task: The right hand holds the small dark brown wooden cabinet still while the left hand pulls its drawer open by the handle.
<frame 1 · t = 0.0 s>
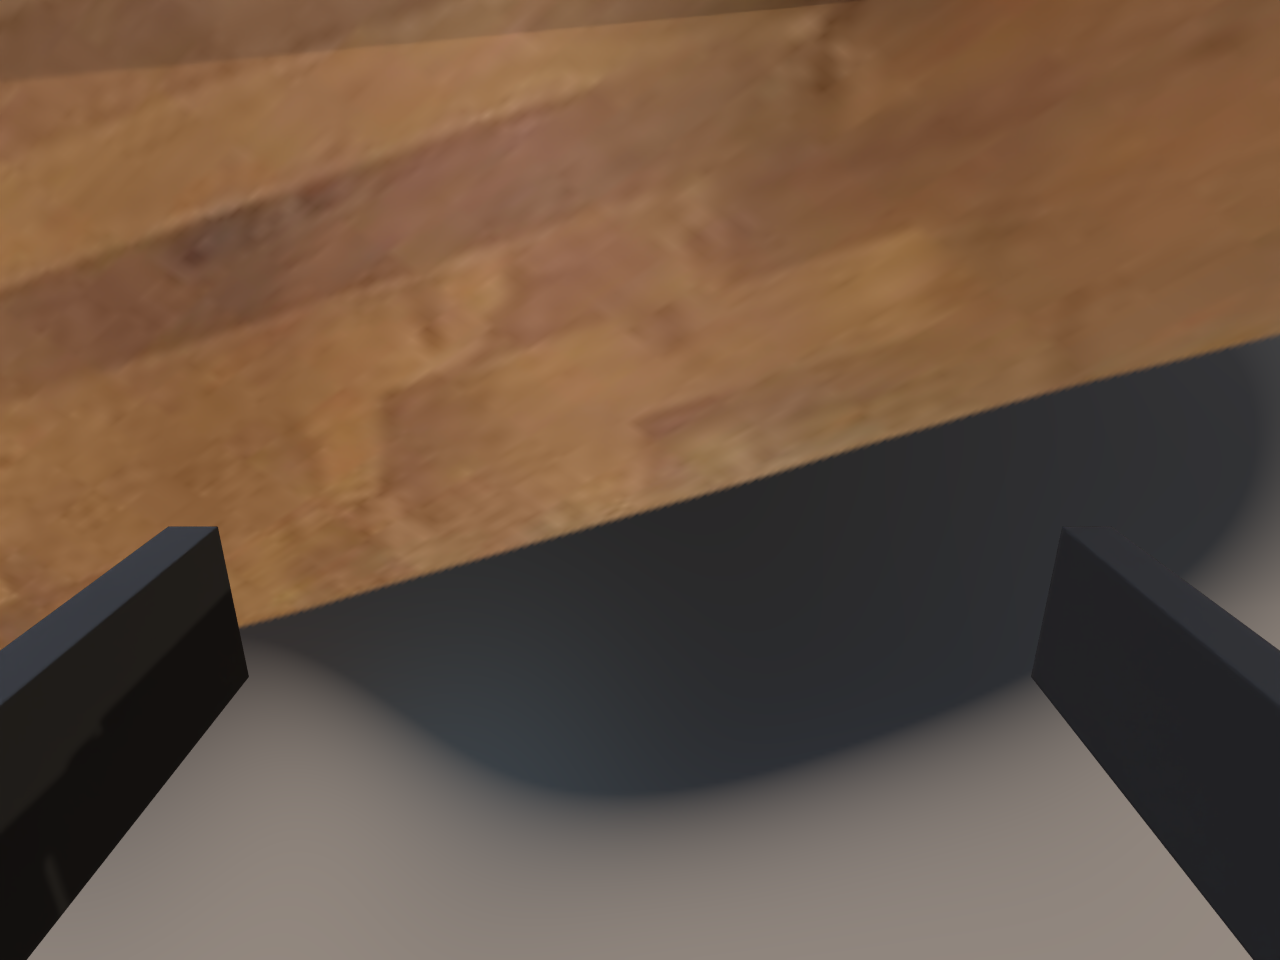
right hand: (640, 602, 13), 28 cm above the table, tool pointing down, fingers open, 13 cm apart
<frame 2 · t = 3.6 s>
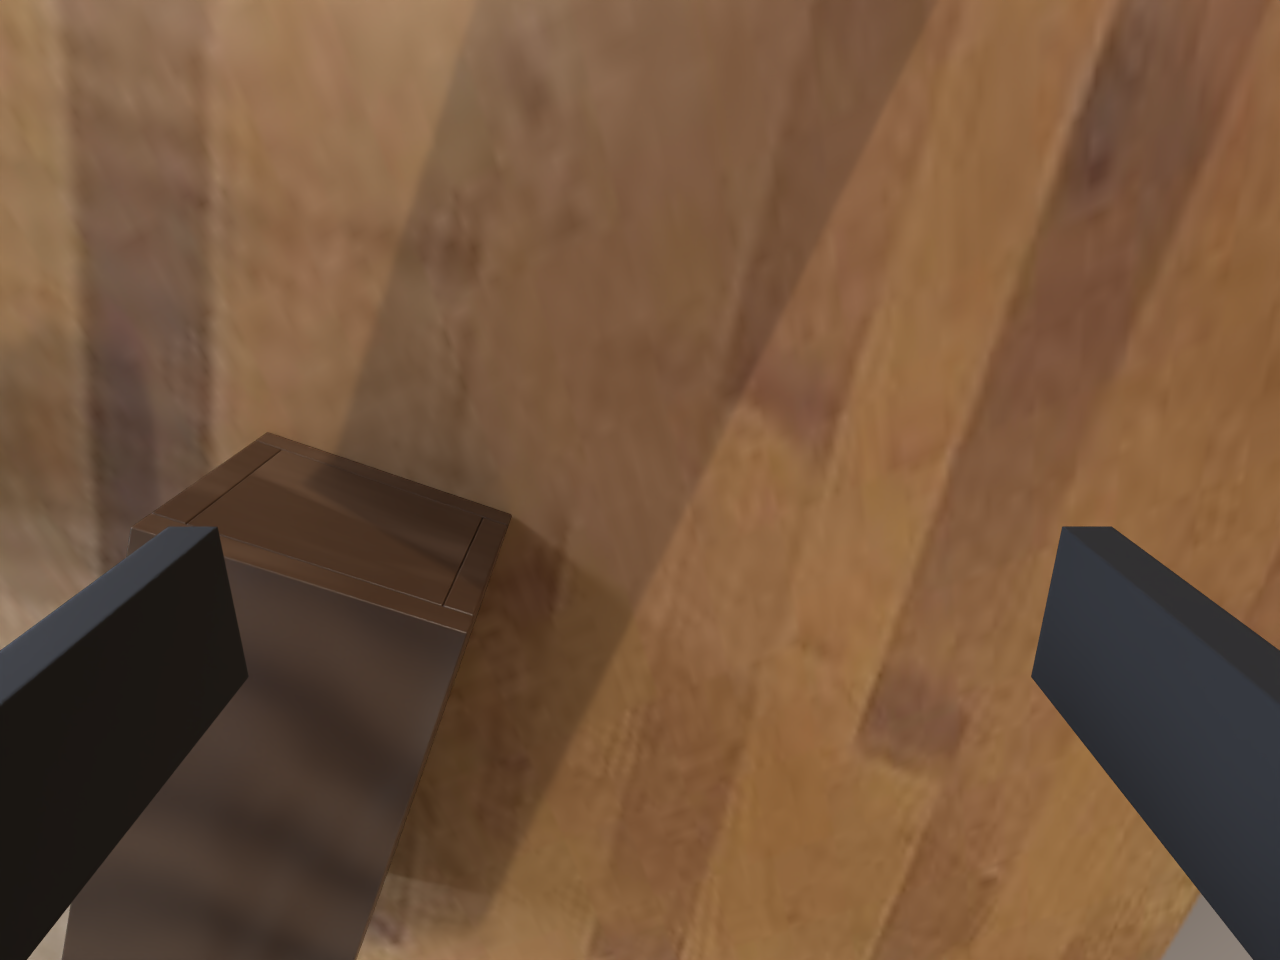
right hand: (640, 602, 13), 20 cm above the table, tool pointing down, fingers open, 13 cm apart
cabinet: (334, 678, 36), on the table
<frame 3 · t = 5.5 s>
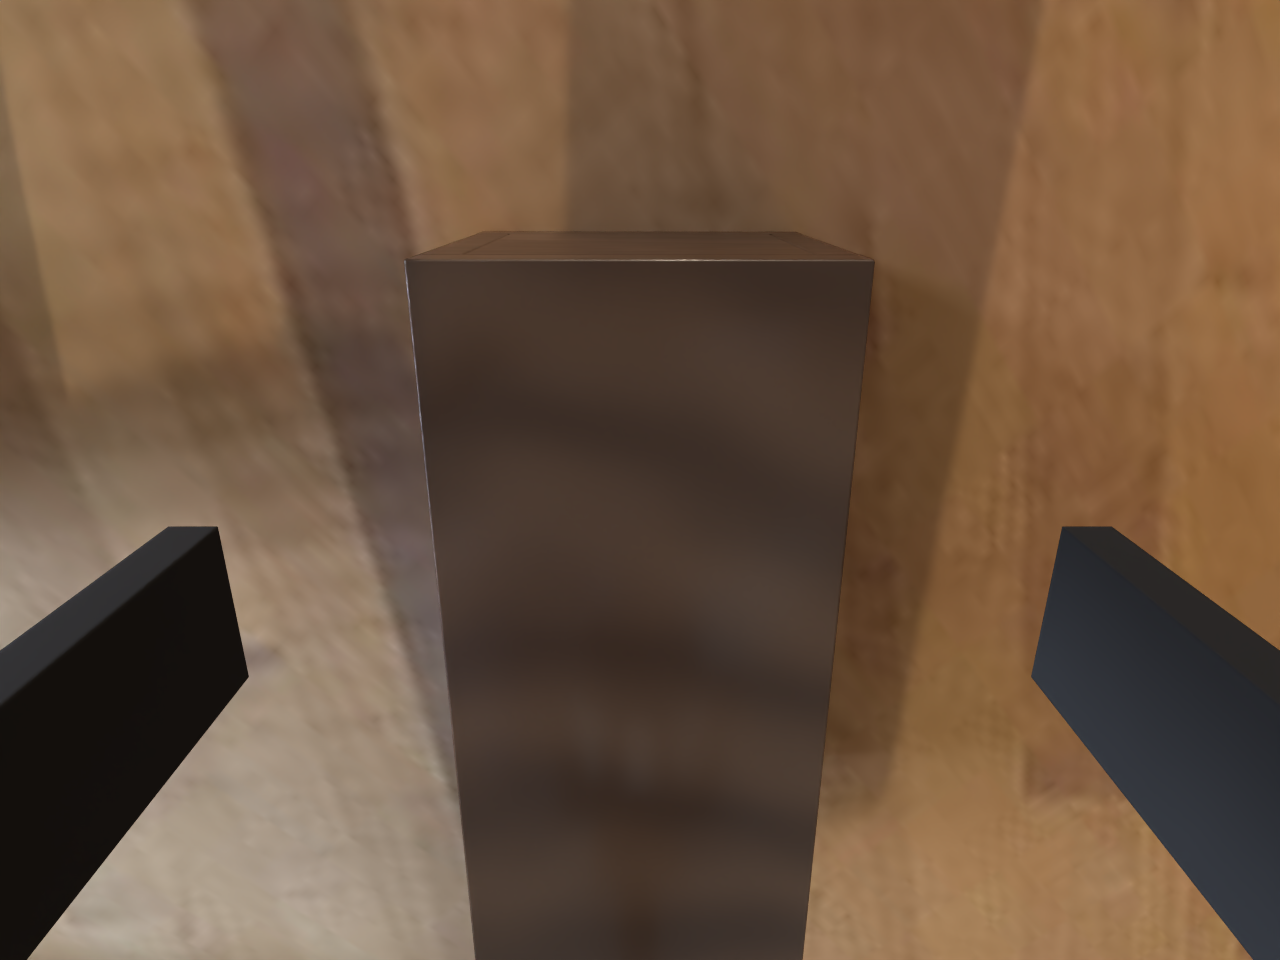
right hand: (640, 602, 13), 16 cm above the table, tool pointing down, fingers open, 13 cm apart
cabinet: (639, 529, 30), on the table
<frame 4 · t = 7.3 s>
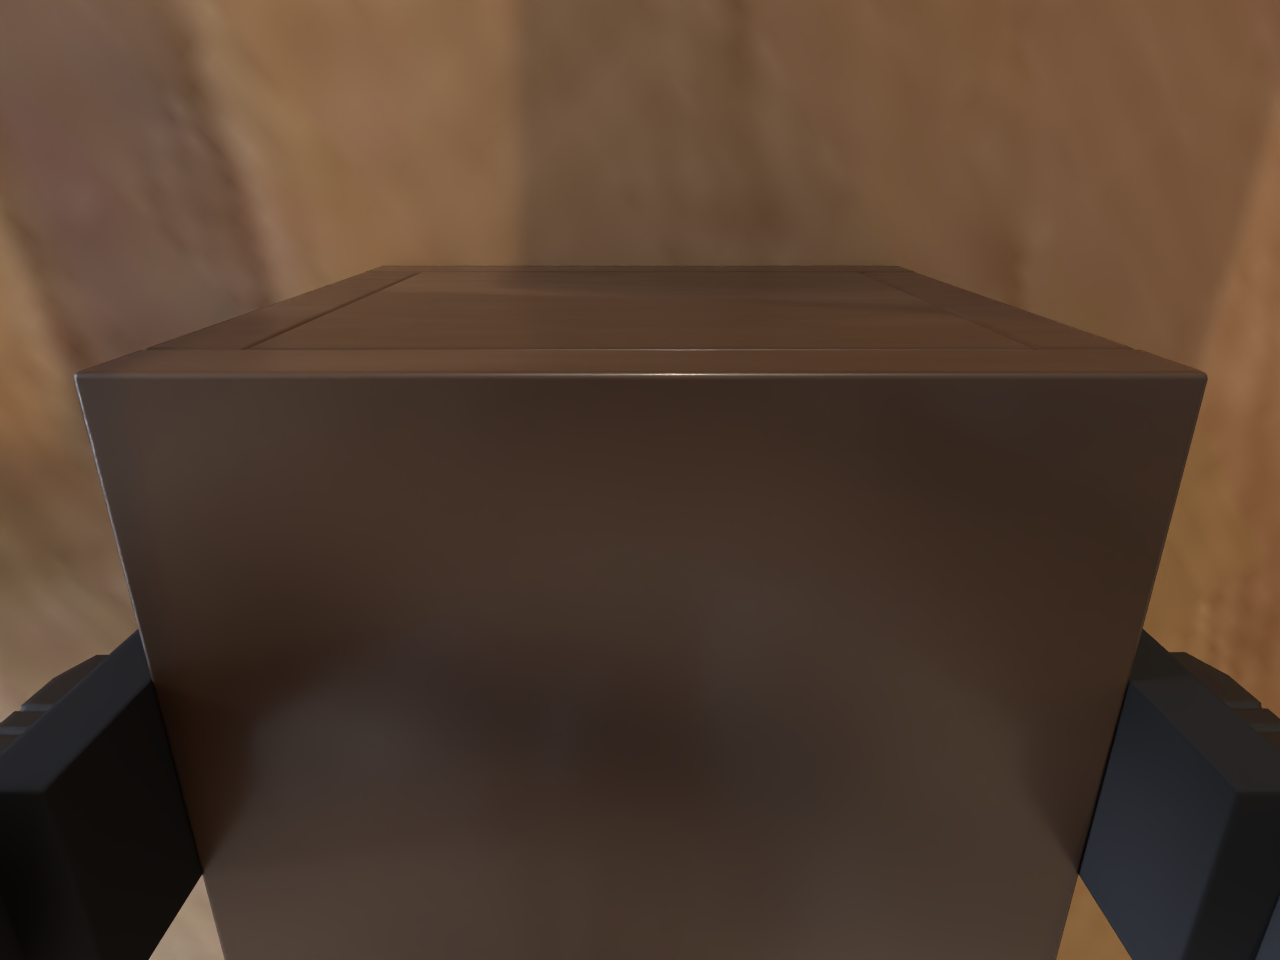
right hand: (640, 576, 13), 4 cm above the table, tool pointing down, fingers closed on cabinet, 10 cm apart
cabinet: (640, 711, 20), on the table, touching right hand
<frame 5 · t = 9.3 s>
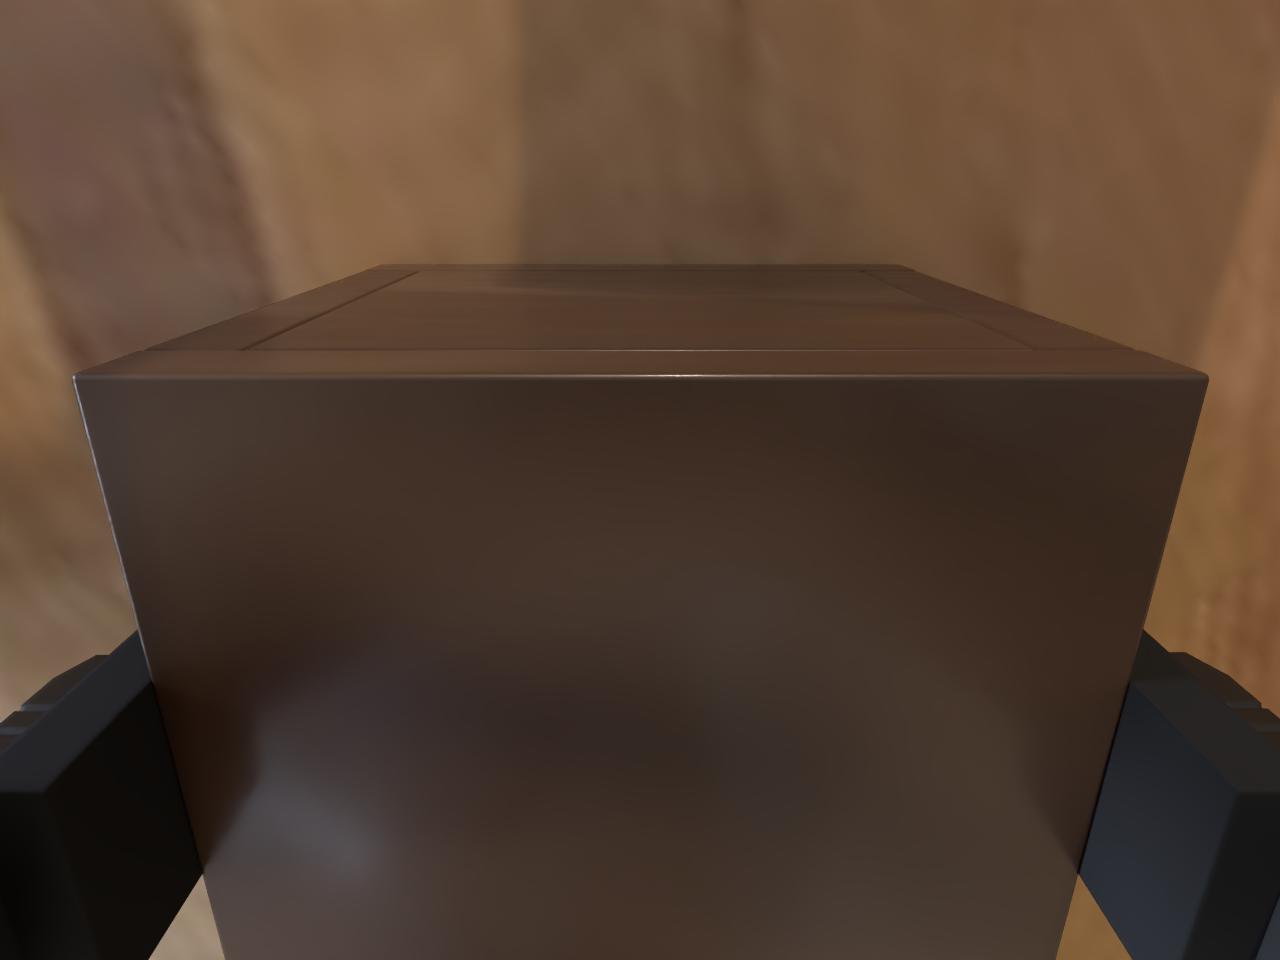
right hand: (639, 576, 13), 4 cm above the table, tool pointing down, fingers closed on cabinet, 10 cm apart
cabinet: (640, 710, 20), on the table, touching right hand
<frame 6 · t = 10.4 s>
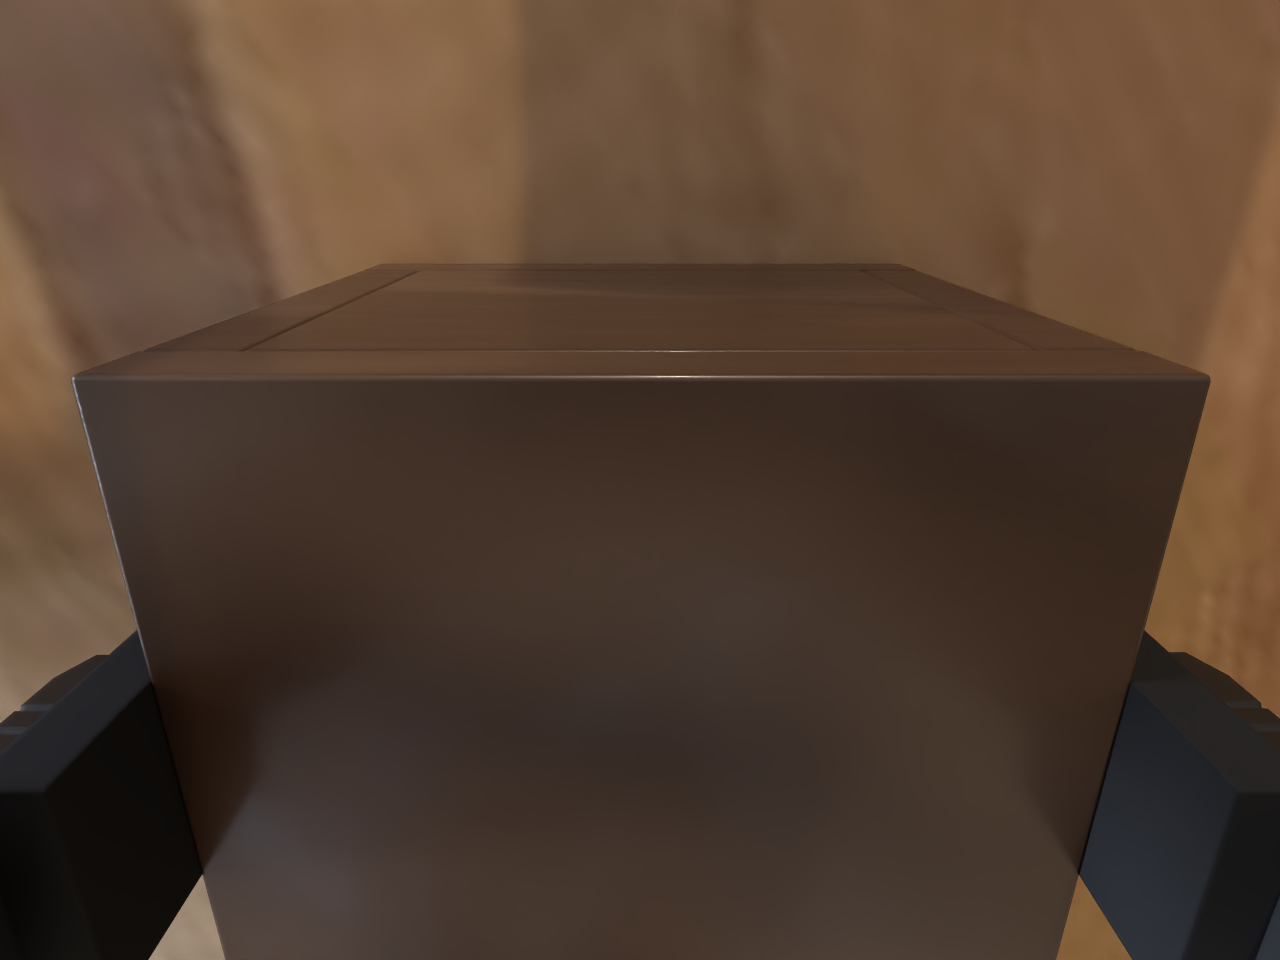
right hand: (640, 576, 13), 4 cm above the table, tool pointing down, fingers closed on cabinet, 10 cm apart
cabinet: (640, 709, 20), on the table, touching right hand
when the right hand's fingers open (4 cm above the table, at t = 12.2 s): cabinet stays where it is, on the table.
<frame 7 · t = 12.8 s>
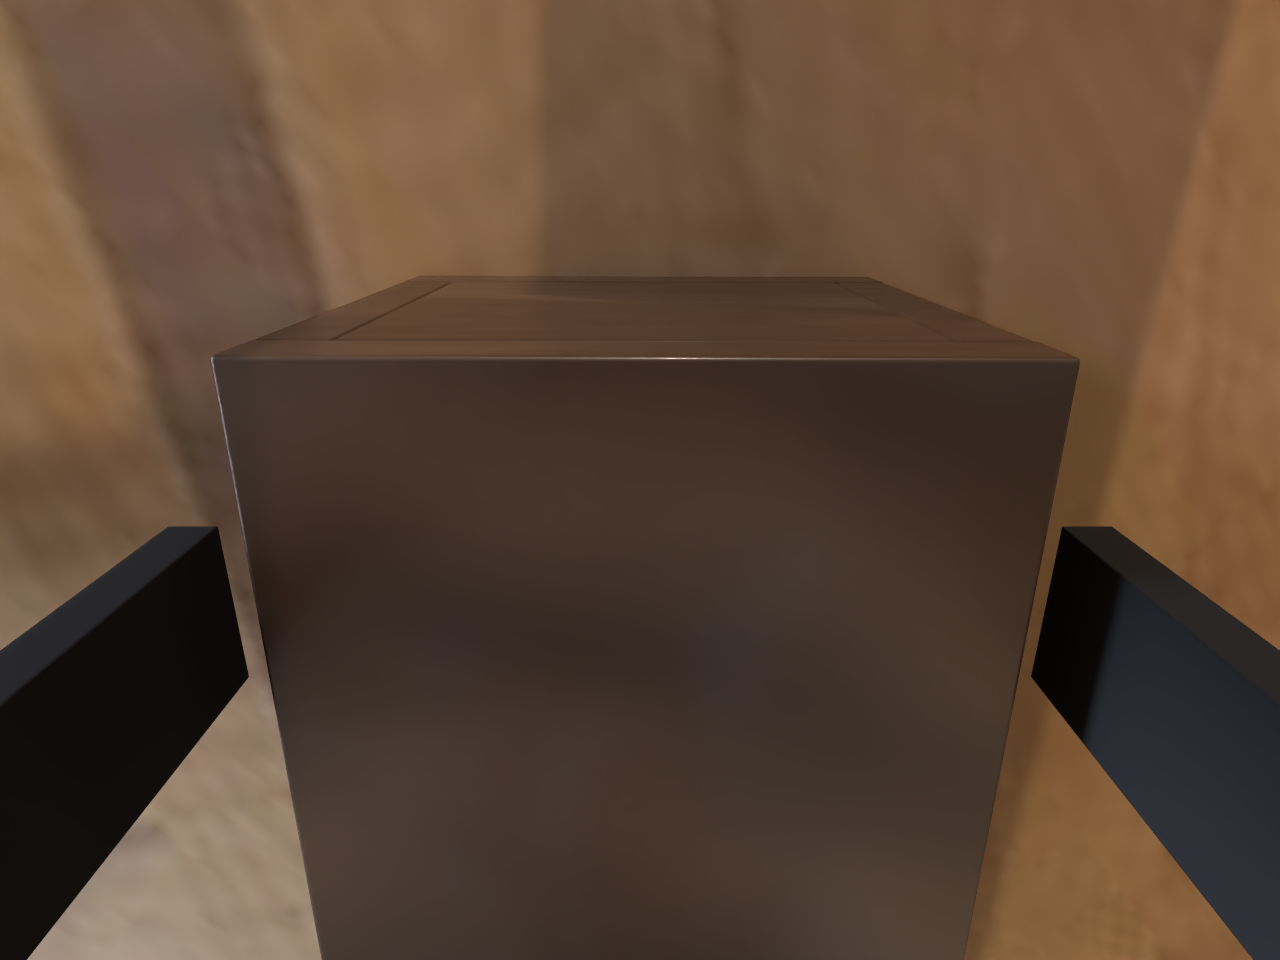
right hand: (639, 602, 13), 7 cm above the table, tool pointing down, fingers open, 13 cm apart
cabinet: (642, 678, 22), on the table
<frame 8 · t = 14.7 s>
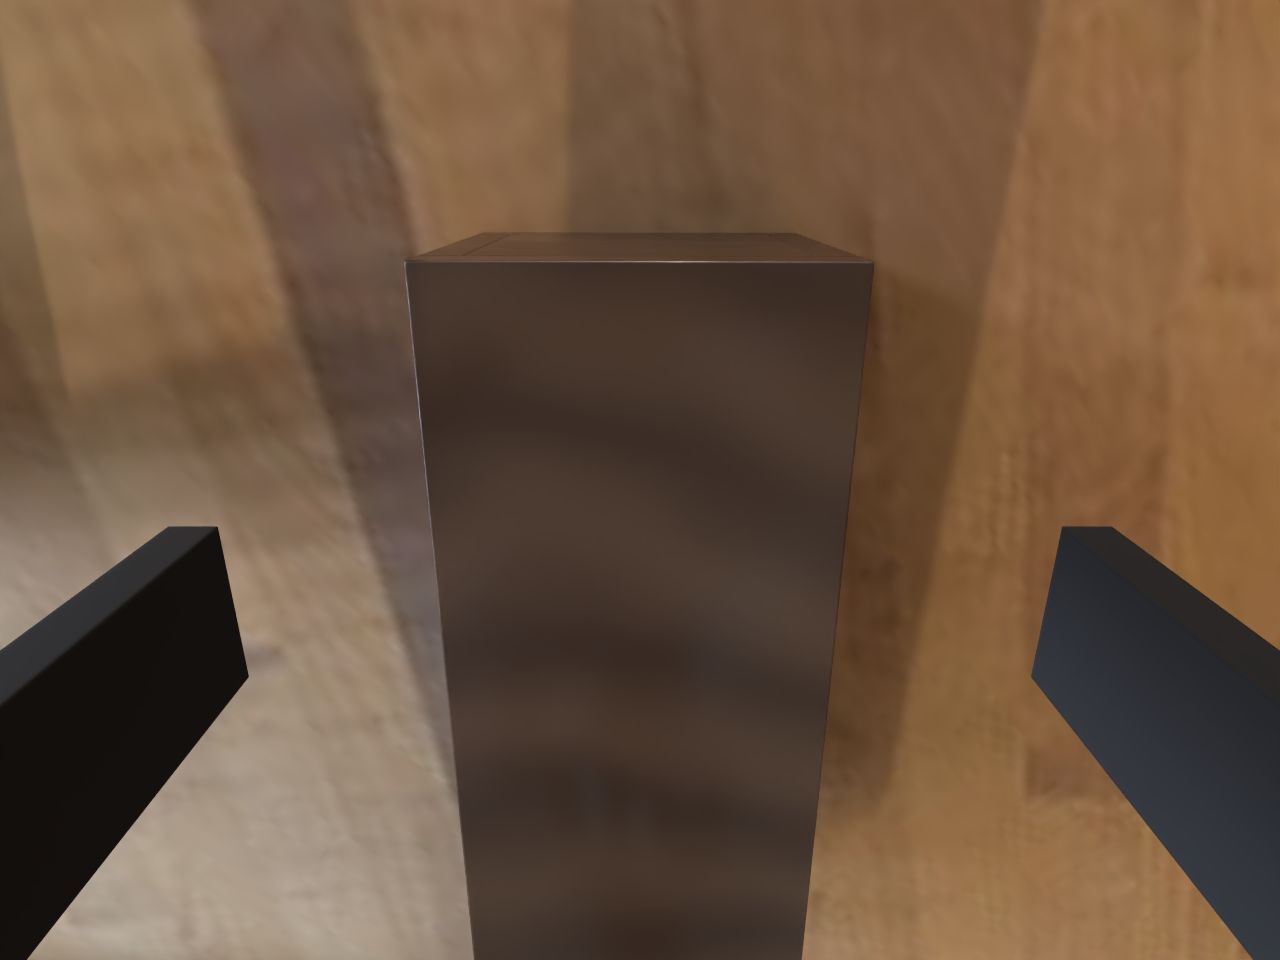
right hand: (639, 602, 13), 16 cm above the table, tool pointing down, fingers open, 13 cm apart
cabinet: (638, 530, 30), on the table
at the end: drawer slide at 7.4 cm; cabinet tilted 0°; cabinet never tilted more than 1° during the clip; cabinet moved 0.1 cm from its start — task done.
